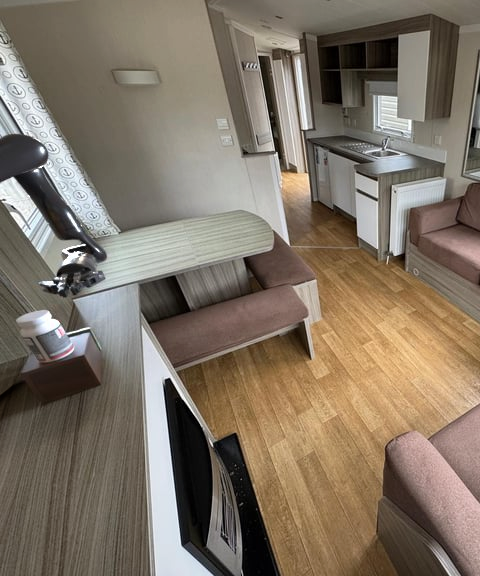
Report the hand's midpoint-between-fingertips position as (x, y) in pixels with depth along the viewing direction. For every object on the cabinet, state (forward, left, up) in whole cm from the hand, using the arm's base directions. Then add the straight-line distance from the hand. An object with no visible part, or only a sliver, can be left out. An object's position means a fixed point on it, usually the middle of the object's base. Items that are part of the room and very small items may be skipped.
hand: (68, 292), depth 76 cm
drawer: (+1, -9, -15) cm, 18 cm away
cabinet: (+4, -15, -16) cm, 22 cm away
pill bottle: (+5, -16, -8) cm, 19 cm away
